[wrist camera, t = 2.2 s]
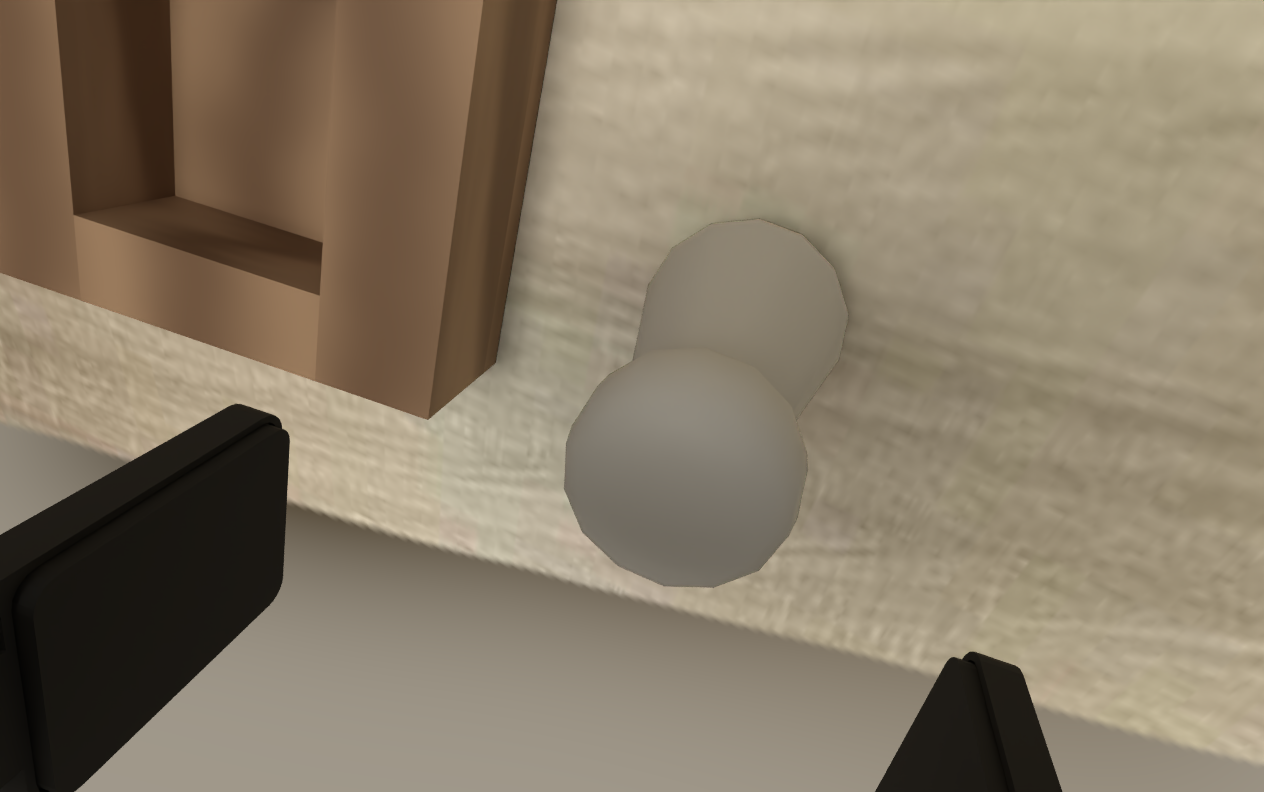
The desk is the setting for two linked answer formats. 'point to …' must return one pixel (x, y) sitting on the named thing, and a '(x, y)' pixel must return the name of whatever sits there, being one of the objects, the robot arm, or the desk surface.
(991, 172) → the desk surface
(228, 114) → the socket block
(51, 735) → the robot arm
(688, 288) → the grey rounded peg
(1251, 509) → the desk surface
